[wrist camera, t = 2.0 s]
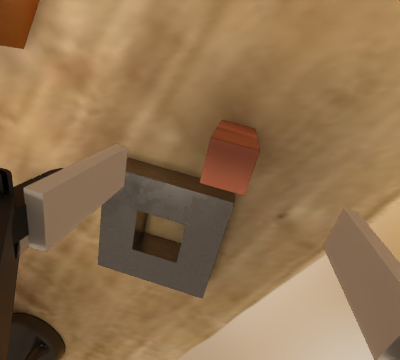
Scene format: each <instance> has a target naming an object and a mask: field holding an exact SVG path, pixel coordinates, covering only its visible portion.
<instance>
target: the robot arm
mask: <svg viewBox="0 0 400 360" xmlns="http://www.w3.org/2000/svg"><path fill="white" fill-rule="evenodd" d="M127 152H128V147H127V146H123V145H120V144H114V145H112V146H110V147H108V148H106V149H104V150H102V151H99V152H97V153H95V154H93V155H91V156H89V157H87V158H85V159H83V160H81V161H79V162H76V163H74V164H72V165H70V166H68V167H66V168H59V169H55V170H50V171H48V172H46V173H44V174H42V175H39V176H37V177H35V178H34V179H30V180H28V181H26V182H24V183H22V184H19V185H17V186H15V187H13V182H12V174H11V172H10V171H9V170H7V169H3V168H0V360H60V359H61V358H62V356H63V354H64V351H65V347H64V344H63V341H62V339H61V338H60V336H59V335H58V334H57V333H56V331H55V330H54V329H52V328H51V327H50V326H49V325H47V324H46V323H45V322H43V321H41V320H39V319H37V318H35V317H33V316H30V315H27V314H21V313H14V314H12V313H13V304H14V296H15V288H16V280H17V271H18V263H19V255H20V240H22V239H23V238H25V237H26V236H28V240H29V247H32V248H35V249H38V250H41V251H44V252H47V251H48V250H50V249H51V248H52V247H53V246H54V245H55V244H57V243H58V242H59V241H60V240H61V239H62V238H64V237H65V236H66V235H67V234H68V233H70V232H71V231H72V230H73V229H74V228H75V227H77V226H78V225H79V224H80V223H81V222H82V221H84V220H85V219H86V218H87V217H88V216H89V215H91V214H92V213H93V212H94V211H95V210H97V209H98V208H99V207H100V206H101V205H102V204H104V203H105V202H106V201H107V200H108V199H109V198H111V197H112V196H113V195H114V194H115V193H117V192H118V191H119V190H120V189H121V188H122V187H124V181H125V171H126V162H127ZM323 247H324V250H325V252H326V254H327V256H328V258H329V260H330V263H331V265H332V267H333V269H334V272H335V274H336V276H337V278H338V280H339V283H340V285H341V287H342V289H343V291H344V294H345V296H346V298H347V300H348V302H349V305H350V307H351V309H352V311H353V313H354V316H355V318H356V320H357V322H358V324H359V327H360V329H361V331H362V333H363V335H364V338H365V340H366V342H367V344H368V346H369V349H370V351H371V353H372V355H373V357H374V360H400V263H399V261H398V260H397V259H396V258H395V257H394V256H393V254H392V253H391V252H390V251H389V249H388V248H387V247H386V246H385V245H384V243H383V242H382V241H381V240H380V239H379V237H378V236H377V235H376V234H375V233H374V232H373V230H372V229H371V228H370V227H369V225H368V224H367V223H366V222H365V221H364V219H363V218H362V217H361V216H360V215H359V213H358V212H354V211H351V210H347V209H343V211H342V213H341V215H340V217H339V218H338V220H337V222H336V224H335V225H334V227H333V229H332V231H331V232H330V234H329V236H328V238H327V239H326V241H325V243H324V245H323Z"/></svg>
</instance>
